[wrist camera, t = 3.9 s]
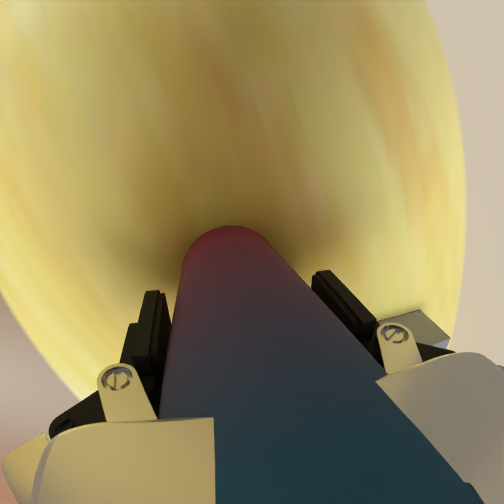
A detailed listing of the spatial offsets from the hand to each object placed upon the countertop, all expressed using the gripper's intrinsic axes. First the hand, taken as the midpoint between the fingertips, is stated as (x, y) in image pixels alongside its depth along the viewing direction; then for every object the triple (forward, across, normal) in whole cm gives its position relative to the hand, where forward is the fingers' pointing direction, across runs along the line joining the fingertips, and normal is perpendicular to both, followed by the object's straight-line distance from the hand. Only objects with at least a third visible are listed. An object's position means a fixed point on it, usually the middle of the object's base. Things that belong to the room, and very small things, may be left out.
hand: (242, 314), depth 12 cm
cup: (+4, 0, 0) cm, 4 cm away
